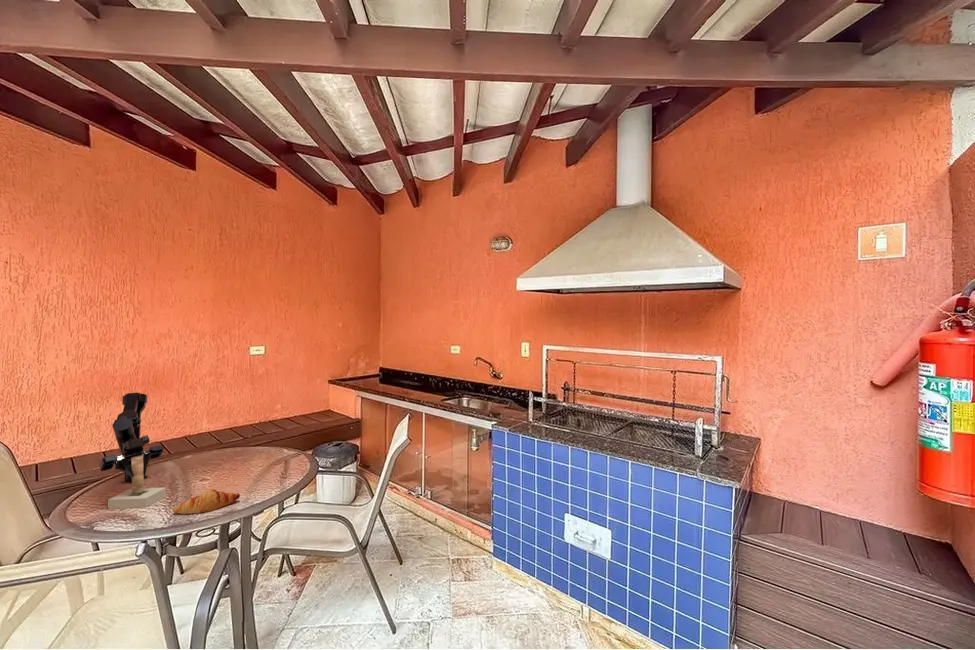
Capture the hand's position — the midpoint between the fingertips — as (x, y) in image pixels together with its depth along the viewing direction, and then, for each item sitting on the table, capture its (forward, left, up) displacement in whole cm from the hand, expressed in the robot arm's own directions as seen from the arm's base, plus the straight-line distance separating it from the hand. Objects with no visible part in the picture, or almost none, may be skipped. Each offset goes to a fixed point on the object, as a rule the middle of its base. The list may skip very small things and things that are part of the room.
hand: (139, 474), depth 157 cm
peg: (-1, +1, -7) cm, 7 cm away
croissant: (+30, -6, -11) cm, 33 cm away
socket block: (-1, +1, -11) cm, 11 cm away
